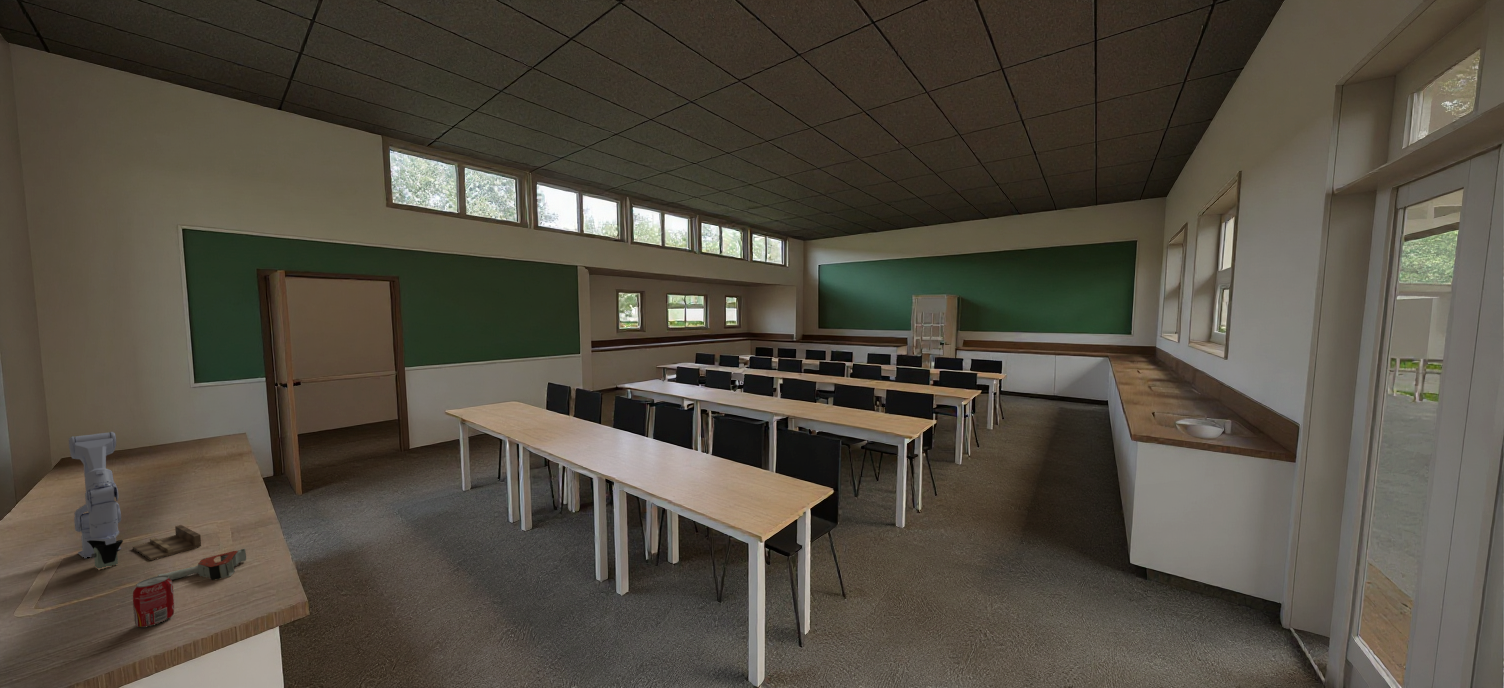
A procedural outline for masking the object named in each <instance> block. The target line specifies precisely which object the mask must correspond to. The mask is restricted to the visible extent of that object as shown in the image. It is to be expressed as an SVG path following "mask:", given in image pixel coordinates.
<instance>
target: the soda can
mask: <svg viewBox="0 0 1504 688" xmlns="http://www.w3.org/2000/svg"><path fill="white" fill-rule="evenodd" d="M135 586H136V587H135V588H134V590H133V592H132V606H133V607H132V609H133V621H134V624H135V626H136V627H138V628H147V627H146V626H150V627H152V626H151V625H154V624H157V625H159V624H158V623H160V622H162V623H164V622H166V621H168V620H169V619H170V618H171V617H172V616H173V615H174V613H175V597H174V596H175V593H174V583H173V580H170V579H169V576H167V575H162V576H158V575H157V576H153V577H149V578H145V579H143V580H141V581H139V582H138V583H136V585H135ZM168 618H169V619H168ZM167 619H168V620H167ZM165 620H166V621H165ZM163 621H164V622H163ZM160 624H161V623H160ZM154 626H155V625H154Z"/></svg>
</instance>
